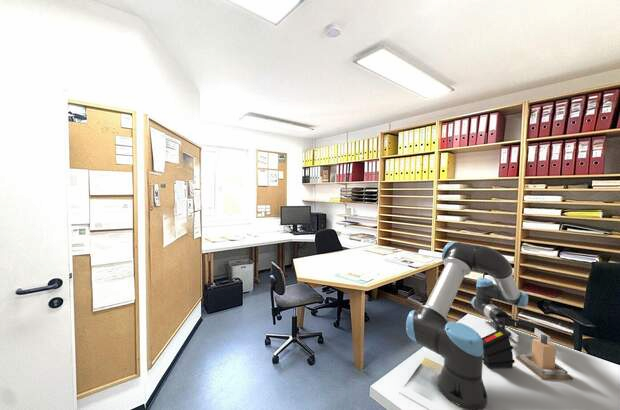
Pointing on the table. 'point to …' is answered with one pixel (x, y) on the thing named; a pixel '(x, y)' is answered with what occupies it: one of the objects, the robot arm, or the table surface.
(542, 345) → the orange bottle
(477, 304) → the robot arm
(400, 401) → the table surface
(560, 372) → the tray
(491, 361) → the magazine
